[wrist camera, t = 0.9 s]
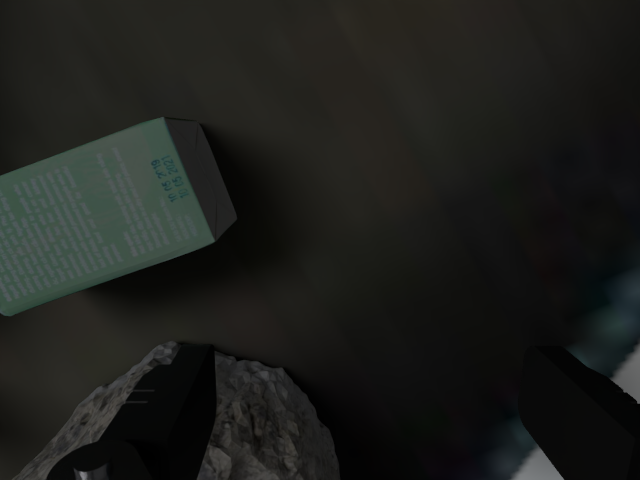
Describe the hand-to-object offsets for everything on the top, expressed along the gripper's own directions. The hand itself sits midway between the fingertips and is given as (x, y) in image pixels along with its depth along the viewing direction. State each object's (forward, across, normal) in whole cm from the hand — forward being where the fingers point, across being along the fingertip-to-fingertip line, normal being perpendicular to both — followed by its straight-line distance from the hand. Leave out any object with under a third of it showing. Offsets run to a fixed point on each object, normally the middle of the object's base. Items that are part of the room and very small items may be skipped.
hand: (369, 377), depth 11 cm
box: (+21, +14, -1) cm, 25 cm away
